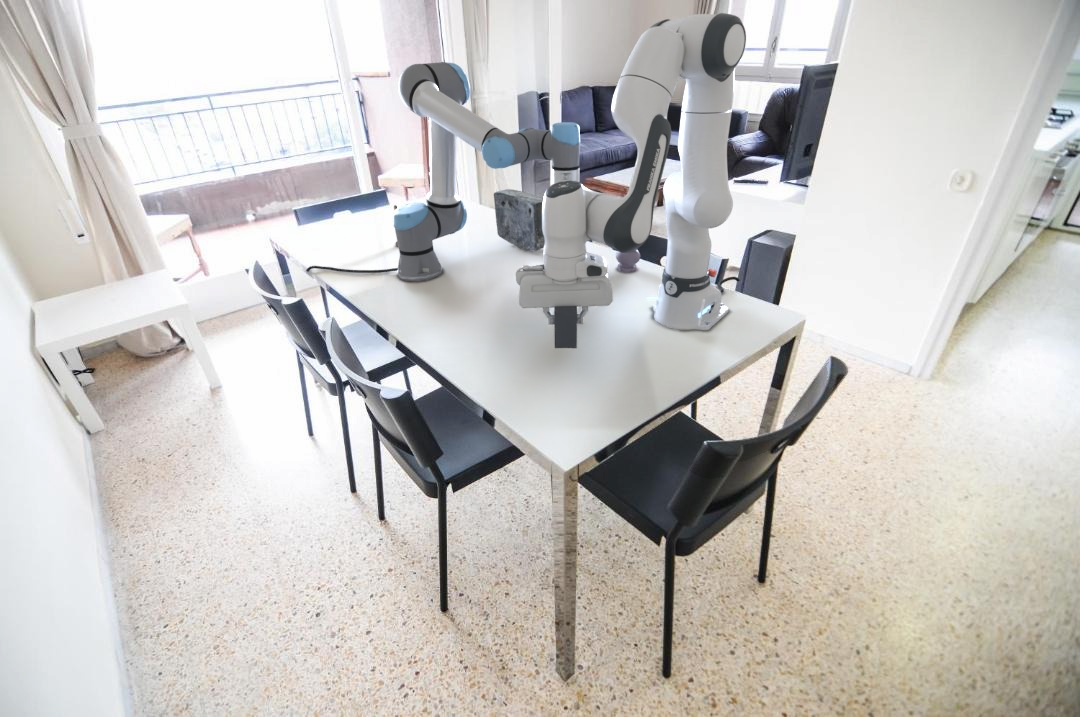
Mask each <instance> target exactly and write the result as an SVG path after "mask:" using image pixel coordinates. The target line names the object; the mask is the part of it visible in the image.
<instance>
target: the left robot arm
mask: <svg viewBox="0 0 1080 717" xmlns="http://www.w3.org/2000/svg"><path fill="white" fill-rule="evenodd" d="M397 85H398V87H397V89H398V95H399V97H400V99H401V101H402V104H404V105H405V107H406V108H407V109H409V111H411V112H412V113H414V114H415V115H417V116H418V117H421V118H428V119H429V120H428V123H429V124H428V125H429V126H428V127H429V129H428V130H429V132H428V133H429V171H430V172H429V175H430V181H429V182H430V191H429V192H428V193H427V194H426V197H425V198H426V199H425V200H426V204H425V203H424V202H412V203H407V204H404V205H401V206H399V207H398V209H396V210H394V212H393V214H392V219H393V228H394V230H395V231H394V232H395V236H396V242H398V246H397V247H398V251H399V259H398V265H397V267H393V268H392V267H391V268H386V269H350V268H349V269H347V268H338V267H332V266H321V265H310V266H309V267H307V268H306V270H305V272H309V271H312V270H313V269H316V270H317V269H318V270H328V271H335V272H341V273H353V274H354V273H355V274H378V273H390V272H397V276H398V278H399V279H400V280H402V281H406V282H413V283H414V282H425V281H429V280H432V279H435V278H438V277H439V276H440V275H441V274H442V273H443V268H442V264H441V263H440V260H439V259H438V256H437V254H436V252H435V250H434V243H433V241H434V240H436V239H439V238H442V237H446V236H449V235H452V234H455V233H457V232H459V231H461V230H462V229H463V228H464V227H465V226H466V223H467V220H468V213H467V208H465V206H466V205H465V203H464V202H463V201H462V200H461V196H460V195H459V194H458V193H457V146H458V145H457V142H458V141H457V138H459V139H460V140H462V141H463V142H464V143H466V144H468V145H469V146H471V147H472V148H474V149H475V150H477V151H478V152H480V153H481V156H482V159H483V161H484V162H485V164H486V165H487V167H489V168H491V169H495V170H497V169H506V168H508V167H512V166H515V165H519V164H523V163H526V162H531V161H534V160H543V161H544V160H545V161H551V184H552V185H553V184H555V183H558V182H561V181H562V182H563V181H569V180H571V181H578V182H580V154H581V152H580V151H581V134H580V125H579V124H578V123H576V122H570V121H568V122H567V121H565V122H564V121H562V122H561V121H560V122H555V123H553V124H552V125H551V128H550V130H547V129H539V128H534V127H529V128H520V129H519V130H518V132H513V133H507V132H505V131H503V130H502V129H500V128H498V127H497V126H496V125H493V124H492V123H490V122H489V121H487V120H485V119H484V118H483V117H481V116H479V115H478V114H476V113H474V112H473V111H472V110H470V109H468V108H466V107H465V106H464V105H465V104H467V102H468V101H469V99H470V96H471V85H470V81H469V78H468V76H467V74H466V73H465V71H464V69H463V68H462V67H461V66H460V65H459V64H456V63H455V62H445V61H439V62H428V63H414V64H410V65H409V66H407V67H406V68H404V70H403V71H402V72H401V74H400V76H399V78H398V84H397Z"/></svg>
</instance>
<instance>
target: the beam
mask: <svg viewBox="0 0 1080 717" xmlns="http://www.w3.org/2000/svg"><path fill="white" fill-rule="evenodd" d="M553 308H554V309H553V315H554V325H553V327H554V329H553V330H554V331H553V332H554V335H553V336H554V349H577V347H578V346H577V344H578V340H577V338H578V324H577V314H578V307H577V306H555V307H553Z"/></svg>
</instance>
